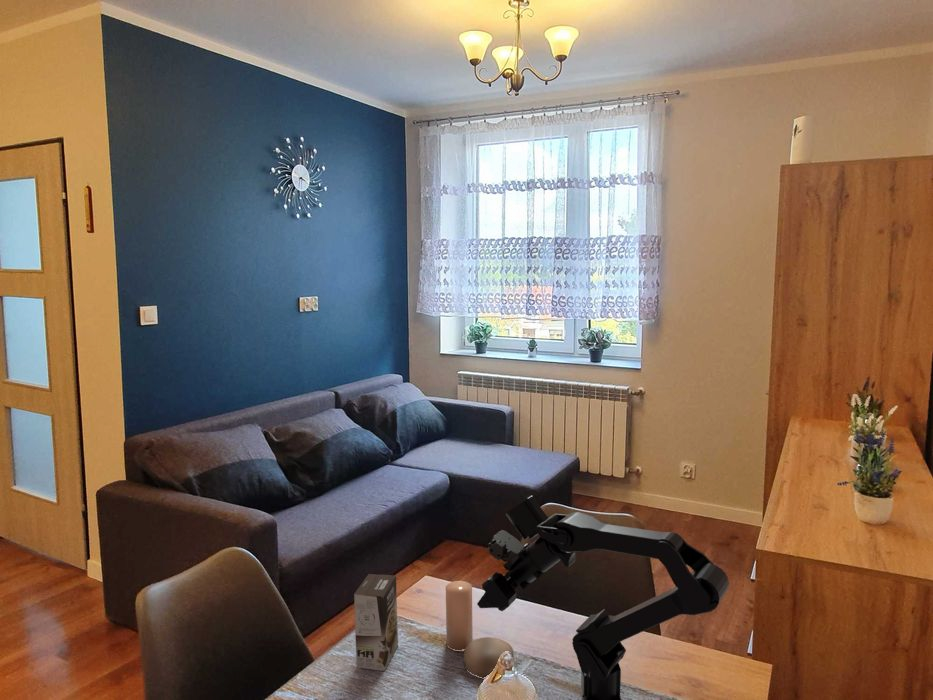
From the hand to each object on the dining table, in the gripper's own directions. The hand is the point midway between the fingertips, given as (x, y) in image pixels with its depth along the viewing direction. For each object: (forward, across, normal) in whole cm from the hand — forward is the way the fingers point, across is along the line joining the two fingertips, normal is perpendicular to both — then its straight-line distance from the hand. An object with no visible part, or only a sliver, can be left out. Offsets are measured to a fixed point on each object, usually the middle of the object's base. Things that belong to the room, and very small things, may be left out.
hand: (489, 595), depth 135 cm
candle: (+14, 0, +4) cm, 15 cm away
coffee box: (+24, +12, -5) cm, 27 cm away
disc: (+8, +3, +10) cm, 14 cm away
